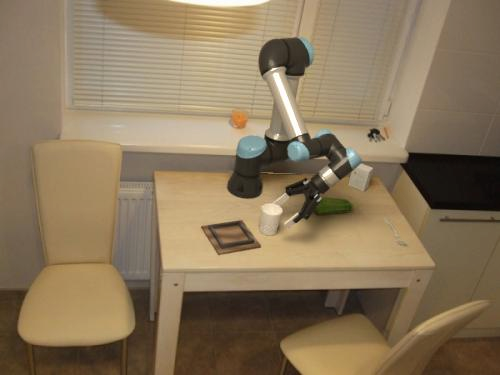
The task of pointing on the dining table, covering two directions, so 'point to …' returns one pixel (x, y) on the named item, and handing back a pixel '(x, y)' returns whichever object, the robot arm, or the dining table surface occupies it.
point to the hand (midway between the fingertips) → (280, 215)
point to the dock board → (230, 237)
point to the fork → (394, 231)
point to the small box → (360, 177)
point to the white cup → (270, 219)
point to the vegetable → (333, 206)
